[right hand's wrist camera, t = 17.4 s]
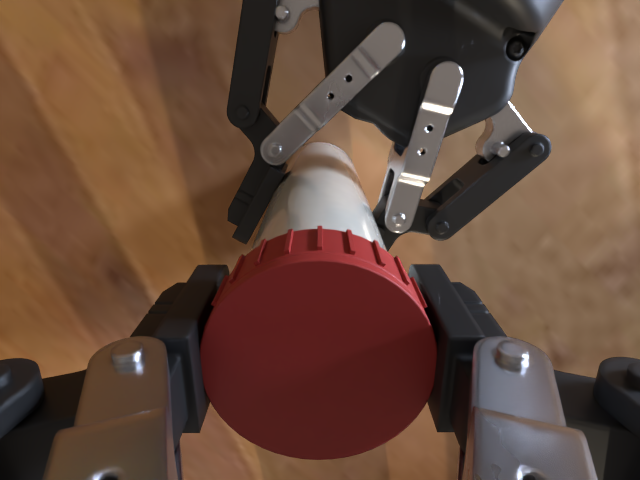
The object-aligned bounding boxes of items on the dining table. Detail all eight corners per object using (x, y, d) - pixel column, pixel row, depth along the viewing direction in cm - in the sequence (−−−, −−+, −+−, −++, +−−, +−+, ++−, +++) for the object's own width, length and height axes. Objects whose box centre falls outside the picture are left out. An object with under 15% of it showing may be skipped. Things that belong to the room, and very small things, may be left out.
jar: (333, 226, 26) (354, 448, 11) (269, 193, 26) (190, 379, 10) (369, 164, 25) (455, 311, 9) (303, 128, 24) (274, 221, 9)
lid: (443, 240, 10) (470, 274, 8) (398, 414, 12) (412, 473, 10) (222, 210, 10) (200, 240, 8) (210, 393, 11) (190, 450, 10)
